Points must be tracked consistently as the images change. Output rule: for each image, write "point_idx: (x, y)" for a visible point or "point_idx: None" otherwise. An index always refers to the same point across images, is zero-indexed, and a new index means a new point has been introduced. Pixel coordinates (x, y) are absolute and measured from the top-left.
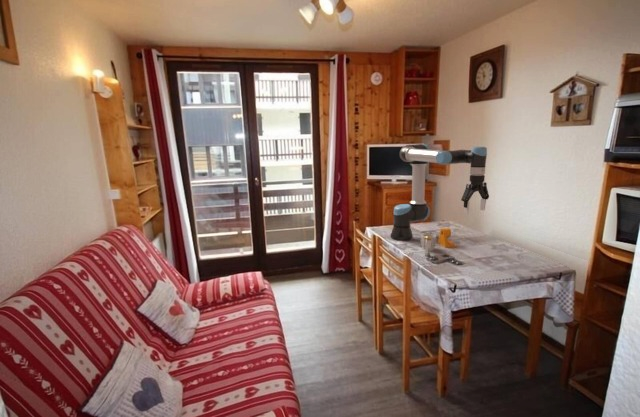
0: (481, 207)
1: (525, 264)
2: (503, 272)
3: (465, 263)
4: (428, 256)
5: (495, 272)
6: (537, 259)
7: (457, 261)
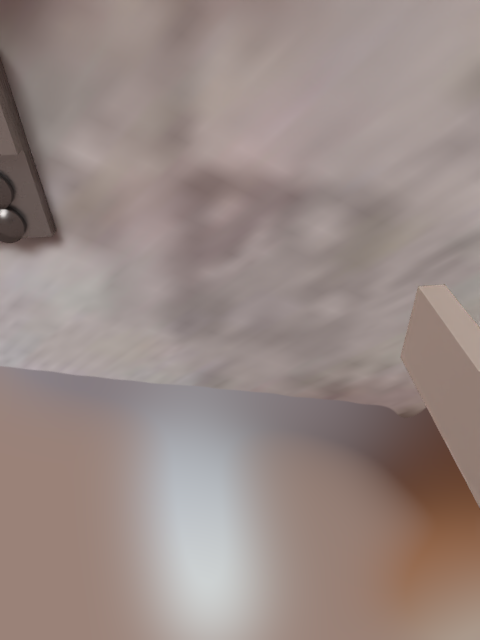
0: (431, 348)
1: (350, 331)
2: (178, 350)
3: (49, 236)
4: None
5: (145, 339)
6: None
7: (4, 207)
